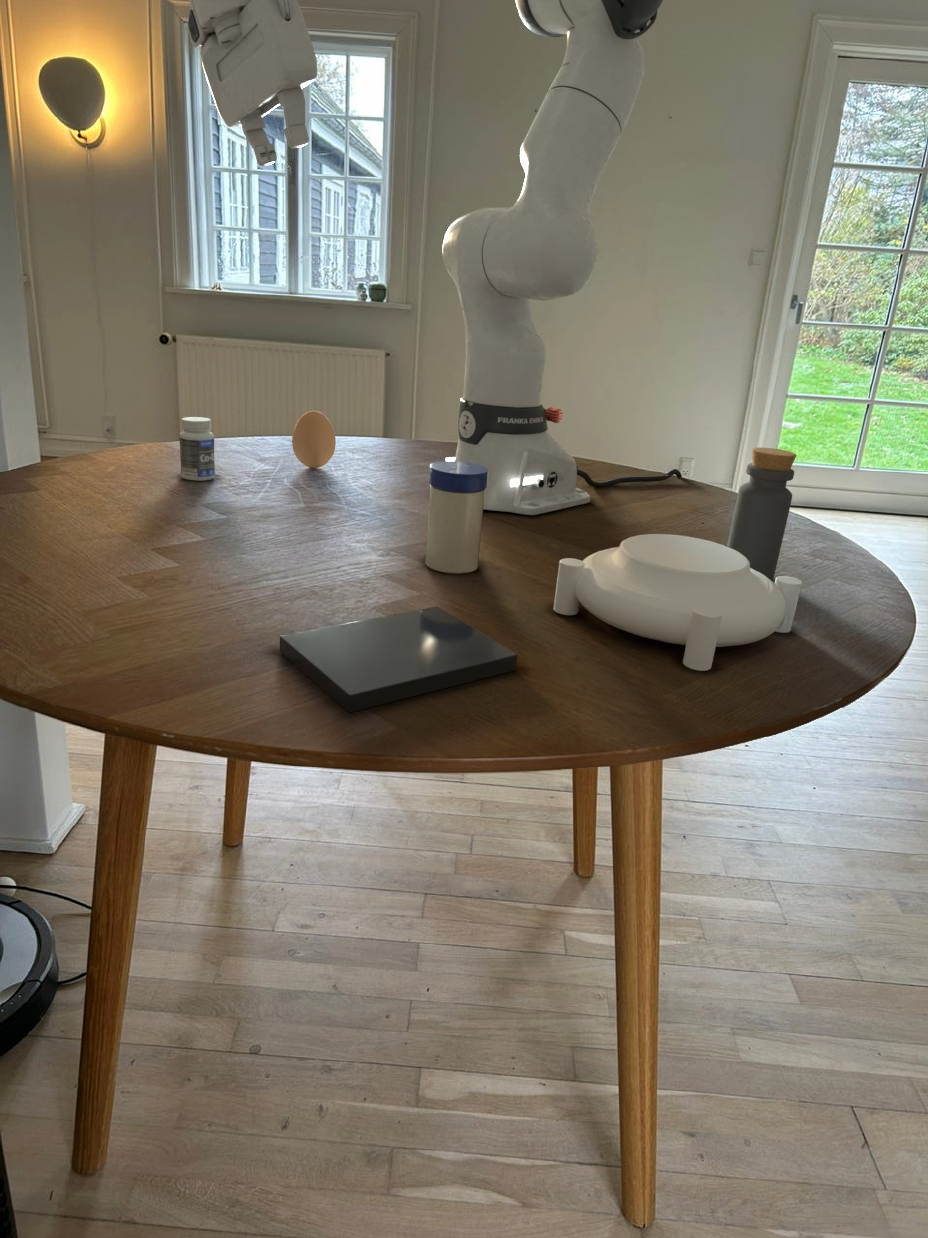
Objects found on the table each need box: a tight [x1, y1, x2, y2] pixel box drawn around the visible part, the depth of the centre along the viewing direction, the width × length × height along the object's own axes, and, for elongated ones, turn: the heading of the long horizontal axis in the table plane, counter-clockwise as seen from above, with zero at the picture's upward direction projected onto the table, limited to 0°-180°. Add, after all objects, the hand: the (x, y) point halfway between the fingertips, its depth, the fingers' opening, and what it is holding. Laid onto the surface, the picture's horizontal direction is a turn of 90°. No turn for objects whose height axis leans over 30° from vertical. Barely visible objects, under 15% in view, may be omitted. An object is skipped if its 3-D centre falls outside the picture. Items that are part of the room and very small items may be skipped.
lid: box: [428, 460, 488, 492], centre depth 93 cm, size 6×6×2 cm
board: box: [279, 606, 518, 714], centre depth 71 cm, size 16×12×2 cm
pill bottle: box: [179, 416, 216, 482], centre depth 122 cm, size 5×5×8 cm
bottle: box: [726, 447, 797, 582], centre depth 97 cm, size 6×6×15 cm
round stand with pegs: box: [552, 533, 803, 672], centre depth 84 cm, size 24×24×7 cm
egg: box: [291, 410, 336, 469], centre depth 134 cm, size 7×7×9 cm
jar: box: [424, 484, 485, 574], centre depth 94 cm, size 6×6×11 cm
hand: (283, 155), depth 89 cm, fingers open, 8 cm apart
